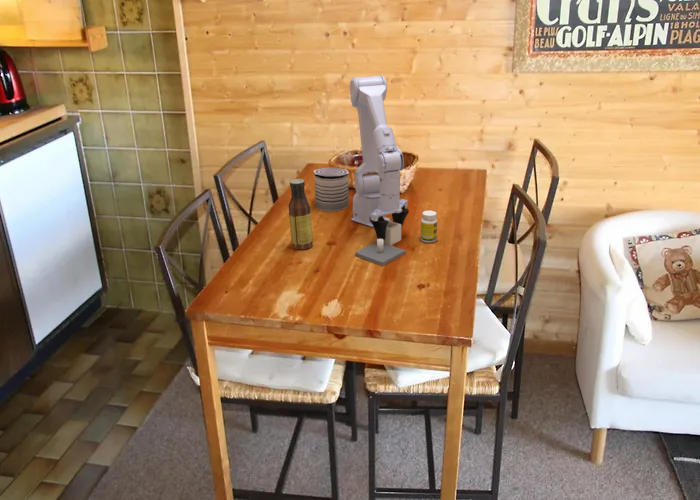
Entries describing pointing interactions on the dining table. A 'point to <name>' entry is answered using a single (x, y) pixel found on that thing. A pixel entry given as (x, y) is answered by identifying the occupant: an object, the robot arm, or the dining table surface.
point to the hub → (392, 233)
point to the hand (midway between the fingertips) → (389, 236)
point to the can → (331, 189)
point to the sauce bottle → (300, 216)
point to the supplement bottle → (428, 226)
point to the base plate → (380, 252)
